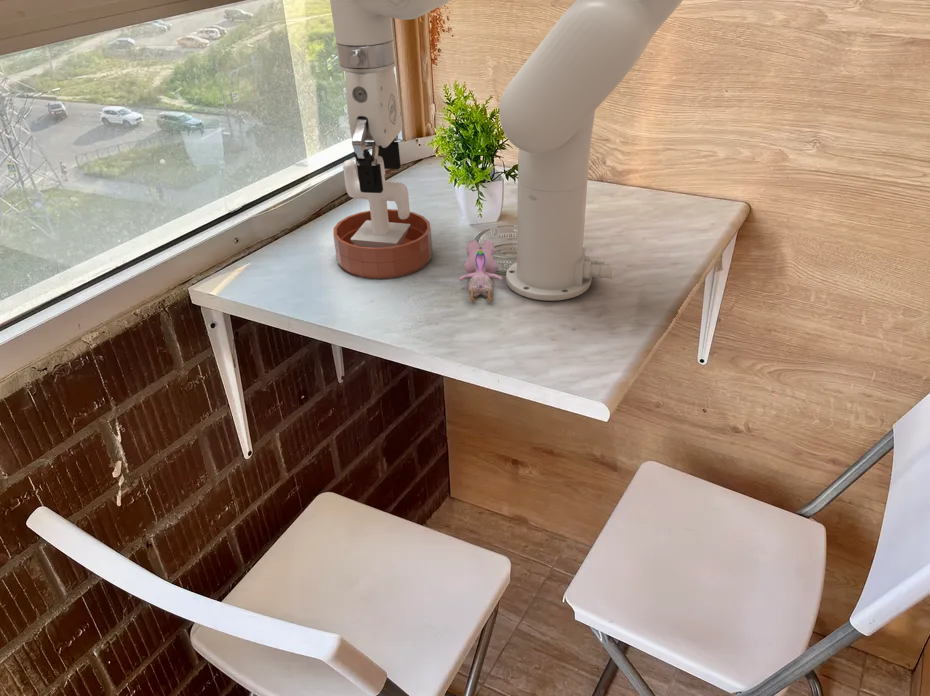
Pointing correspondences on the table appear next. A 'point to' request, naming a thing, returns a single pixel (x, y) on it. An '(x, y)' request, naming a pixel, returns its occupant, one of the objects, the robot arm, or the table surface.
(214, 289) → the table surface
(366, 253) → the bowl
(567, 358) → the table surface
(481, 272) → the rabbit figure
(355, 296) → the table surface
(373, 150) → the robot arm
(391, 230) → the figurine
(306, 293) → the table surface
